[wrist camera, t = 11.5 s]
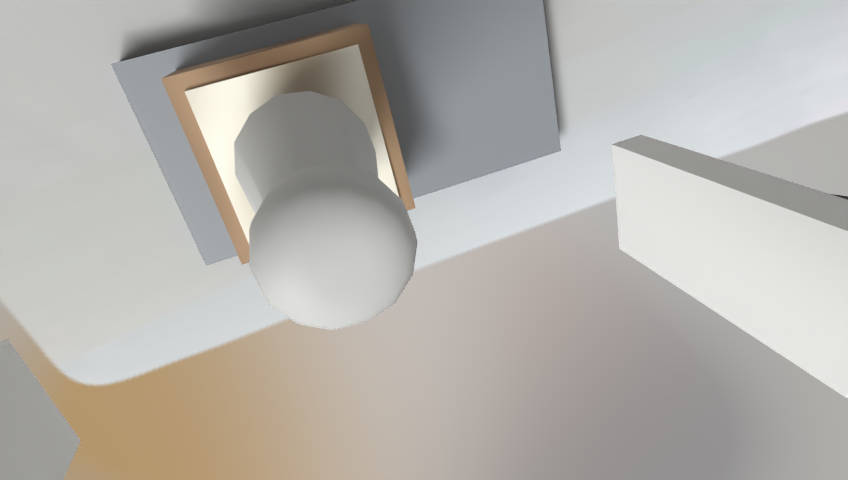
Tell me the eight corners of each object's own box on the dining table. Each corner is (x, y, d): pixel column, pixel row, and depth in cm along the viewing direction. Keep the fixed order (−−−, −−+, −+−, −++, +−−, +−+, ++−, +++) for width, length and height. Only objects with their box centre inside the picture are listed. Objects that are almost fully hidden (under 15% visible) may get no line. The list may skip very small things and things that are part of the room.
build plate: (524, -43, 29) (537, -46, 28) (549, 145, 34) (560, 150, 33) (118, 61, 26) (111, 64, 25) (208, 254, 31) (206, 265, 29)
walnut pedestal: (354, 23, 27) (369, 23, 23) (397, 186, 31) (416, 209, 27) (175, 70, 25) (160, 79, 22) (244, 234, 29) (241, 266, 25)
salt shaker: (208, 153, 23) (153, 284, 12) (295, 55, 23) (328, 91, 11) (310, 232, 26) (348, 403, 14) (390, 146, 25) (497, 251, 14)
